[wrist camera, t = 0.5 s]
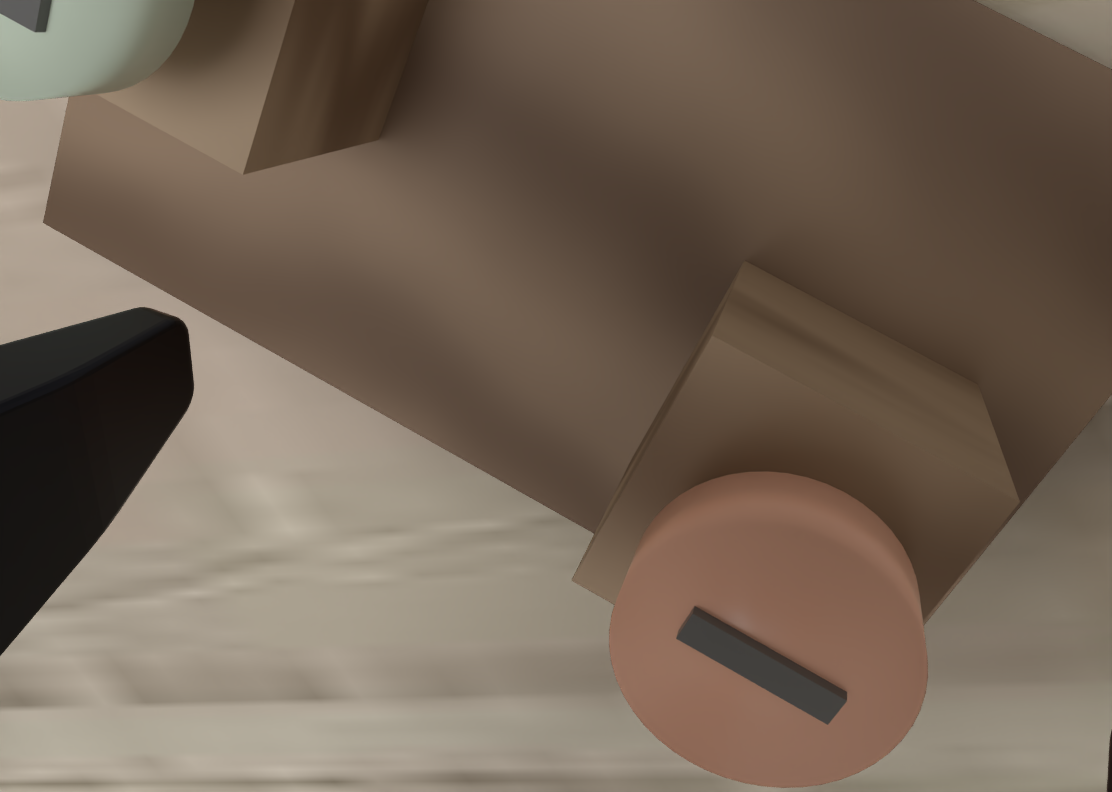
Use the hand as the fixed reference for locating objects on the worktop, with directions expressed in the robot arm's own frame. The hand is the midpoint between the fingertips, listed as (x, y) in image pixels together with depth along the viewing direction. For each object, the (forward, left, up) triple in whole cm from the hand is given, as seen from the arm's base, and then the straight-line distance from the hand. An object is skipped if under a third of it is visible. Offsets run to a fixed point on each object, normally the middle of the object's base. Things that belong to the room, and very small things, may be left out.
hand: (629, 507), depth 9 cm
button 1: (-3, -3, -6) cm, 7 cm away
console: (-1, +4, -15) cm, 15 cm away
